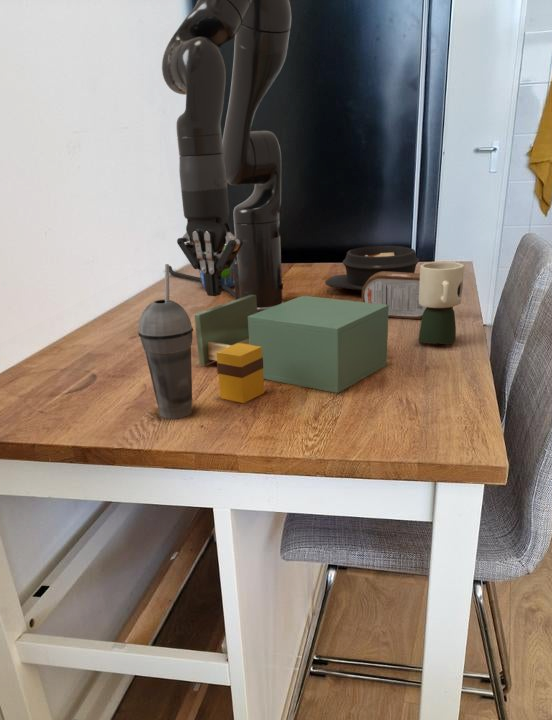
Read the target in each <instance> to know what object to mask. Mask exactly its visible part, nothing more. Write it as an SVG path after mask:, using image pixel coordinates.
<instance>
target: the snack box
mask: <svg viewBox="0 0 552 720" xmlns="http://www.w3.org/2000/svg"><path fill="white" fill-rule="evenodd" d="M216 353H217V361H216V370H217V371H216V372H217V374H218V384H219V385H218V387H219V393H220V394H219V397H220V399H221V400H227V401H232V402H235V403H240V404H246V403H247V402H249V401H252V400H253V399H255V398H257V397H259V396H261V395H263V394H265V385H264V384H265V381H264V380H265V379H263V357H262V347H260V346H254V345H248V344H242V343H237V344H234V345H232V346H229V347H227V348H225V349H222V350H220V351H217V352H216Z"/></svg>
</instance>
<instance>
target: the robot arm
mask: <svg viewBox="0 0 552 720" xmlns="http://www.w3.org/2000/svg"><path fill="white" fill-rule="evenodd" d="M291 26H292V8H291V3H290V0H197V1H196V3H195V6H194V7H193V9H192V10H191V11H190V12H189V13H188V14H187V16H186V17H185V18H184V20H183V21H182V22H181V24H180V25H179V27H178V28H177V29H176V31H175V32H174V34H173V35H172V37H171V38H170V40H169V42H168V44H167V45H166V48H165V50H164V52H163V56H162V60H161V61H162V62H161V73H162V78H163V80H164V82H165V85H166V86H167V87H168V88H169V89H170V90H171V91H172V92H174V93H176V94H178V95H183V96H185V109H184V111H183V113H181V114H180V115H179V116H178V117H177V118H176V119H177V120H176V122H175V123H176V124H175V125H176V138H177V149H178V156H179V157H178V159H179V167H178V170H179V171H178V172H179V182H180V192H181V199H182V200H181V201H182V202H181V203H182V211H183V217H184V218H185V219H186V222H187V223H186V226H185V230H186V232H185V233H184V234H183V236H181V237H178V238H177V240H176V243H177V245H178V247H179V248H180V250H181V251H182V253H183V255H184V256H185V257H186V259H187V260H188V262H189V263H190V265H191V266H192V268H193V269H194V270H198V271H199V270H201V272H202V273H203V275H204V284H205V288H204V290H205V293H206V295H207V296H208V297H218V296H221V294H222V292H223V290H224V292H227V293H228V294H230V295H231V296H232V298H234V299H235V300H237V299H240V298H243V297H246V296H248V295H256V301H257V313H258V312H261V311H263V310H266V309H269V308H271V307H274V306H277V305H279V304H282V303H284V299H283V298H284V297H283V289H284V284H283V273H282V249H281V248H282V247H281V229H280V224H281V223H280V210H281V206H282V152H281V146H280V144H279V140H278V138H277V136H276V134H275V133H274V132H272V131H270V130H253V131H252V126H253V122H254V118H255V115H256V113H257V110H258V108H259V106H260V104H261V102H262V100H264V97H265V95H266V94H267V92H268V91H269V90H270V88H271V87H272V85H273V84H274V82H275V81H276V79H277V77H278V75H279V74H280V72H281V70H282V68H283V66H284V64H285V62H286V60H287V54H288V49H289V39H290V34H291ZM233 38H234V48H233V49H234V50H233V62H232V63H233V64H232V74H231V85H230V91H229V98H228V99H229V100H228V106H227V112H226V117H225V124H224V128H223V133H222V125H221V124H222V116H223V112H224V111H223V110H224V103H225V93H226V85H227V69H226V63H225V59H224V56H223V55H224V54H223V53H222V50H221V47H222V46H223V45H225V44H227V43H228V42H230V41H231V40H233ZM222 134H223V135H222ZM228 185H230V186H233V187H235V186H236V187H238V186H239V187H240V186H250V185H254V189H253V191H252V193H251V195H250V196H249V197H248V198H247V199H245V200H243V202H241V203H239V204H237V205H236V206H234V209H233V212H232V213H233V226H234V234H233V233H232V229H231V226H230V223H229V220H228V219H229V215H230V203H229V201H230V200H229V189H228ZM224 246H225V247H226V248H225V250H224ZM204 252H206V253H204ZM235 257H236V259H235ZM196 259H197V260H196ZM234 259H235V261H234ZM233 261H234V262H233ZM215 263H216V265H215ZM232 263H233V269H234V290H233V288H232V287H230V288H229V287H227V286H225V285H223V286H222V271H223V270H225V269H228V268H230V267H231V265H232ZM169 275H172V276H175V277H179V278H183V279H186V280H191V281H196V282H199V283H202V281H201V277H199V276H196V275H195V276H194V275H191V274H186V273H182V272H177V271H174V270H173V267H172V265H169Z"/></svg>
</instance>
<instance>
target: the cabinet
mask: <svg viewBox="0 0 552 720" xmlns="http://www.w3.org/2000/svg"><path fill="white" fill-rule="evenodd" d="M388 309H389V305H383V304H374V303H365V302H363V301H357V300H348V299H347V300H345V299H337V298H329V297H319V296H310V295H301V296H298V297H296V298H295V297H294V298H292V299H290V300H287V301H285V302H283V303H282V304H279V305H277V306H274V307H271V308H269V309H266V310H263V311H261V312H257V313H255V314H253V315H250V316H248V330H249V345H254V346H260V347H262V357H263V379H264V380H267V381H272V382H278V383H283V384H288V385H293V386H298V387H304V388H308V389H309V388H310V389H315V390H319V391H323V392H324V391H325V392H330V393H335V394H339V393H341V392H343V391H344V390H346V389H348V388H350V387H351V386H353V385H355V384H356V383H359V382H360V381H361V380H363V379H365V378H367V377H368V376H370V375H372V374H374V373H375V372H377V371H379V370H381V369H382V368H384V367H385V366H387V365H388V337H389V335H388V333H389V317H388Z"/></svg>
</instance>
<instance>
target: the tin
mask: <svg viewBox="0 0 552 720" xmlns="http://www.w3.org/2000/svg"><path fill="white" fill-rule="evenodd" d="M419 283H420V272H414V273H403V272H385V271H383V272H378V273H375V274H374V275H372V276H371V277H370V278H369V279H368V281H367V282H366V283H365V285H364V286H363V289H362V293H361V302H365V303H374V304H383V305H389V309H388V318H392V319H393V318H394V319H404V320H405V319H406V320H422V316H423V312H424V310H425V309H426V308H427V307H424V306H422V305H420V304H419Z"/></svg>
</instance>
